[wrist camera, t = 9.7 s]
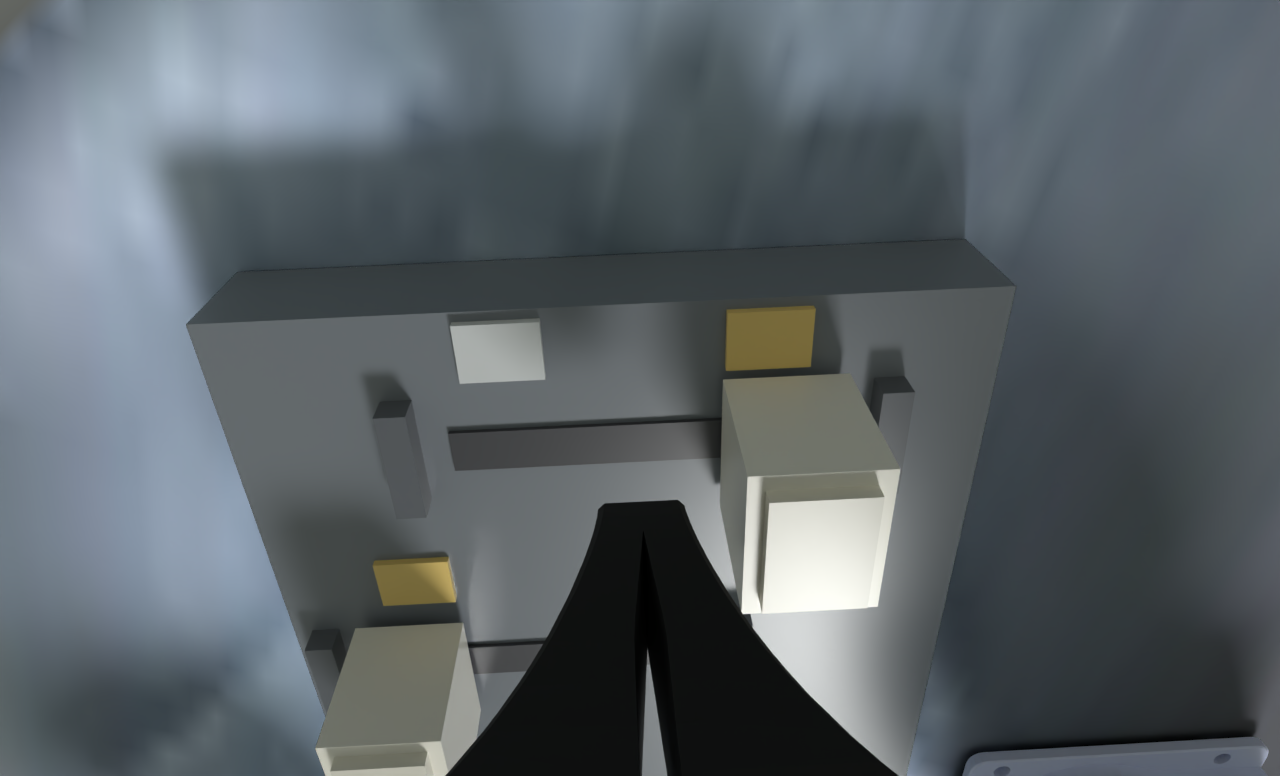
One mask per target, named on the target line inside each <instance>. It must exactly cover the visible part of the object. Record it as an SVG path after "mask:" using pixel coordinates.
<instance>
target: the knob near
mask: <svg viewBox="0 0 1280 776" xmlns="http://www.w3.org/2000/svg"><path fill="white" fill-rule="evenodd" d="M899 475H900V467H899V465H898V463H897V461H896V460H895V458H894V456H893V454H892V452H891V450H890V448H889V446H888V444H887V442H886V441H885V439H884V437H883V435H882V433H881V431H880V429H879V427H878V425H877V424H876V422H875V420H874V418H873V416H872V414H871V412H870V410H869V408H868V406H867V405H866V403H865V401H864V399H863V397H862V395H861V393H860V391H859V389H858V387H857V386H856V384H855V382H854V380H853V378H852V376H851V374H850V373H848V374H827V375H807V376H786V377H765V378H745V379H724V380H723V393H722V434H721V475H720V509H721V514H722V519H723V524H724V529H725V534H726V539H727V544H728V549H729V554H730V559H731V564H732V569H733V574H734V580H735V585H736V590H737V595H738V600H739V605H740V610H741V612H742V613H743V614H753V613H762V614H769V613H788V612H806V611H825V610H844V609H862V608H868V607H878V602H879V596H880V590H881V584H882V578H883V572H884V566H885V560H886V554H887V547H888V541H889V535H890V529H891V523H892V517H893V511H894V505H895V499H896V493H897V487H898V481H899Z"/></svg>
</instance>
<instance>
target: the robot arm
mask: <svg viewBox="0 0 1280 776" xmlns="http://www.w3.org/2000/svg"><path fill="white" fill-rule="evenodd" d="M647 648H648V655H649V662H650V668H651V674H652V681H653V687H654V694H655V700H656V707H657V713H658V719H659V726H660V732H661V738H662V745H663V751H664V758H665V764H666V770H667V776H899V775H897V774H896V773H895V772H894V771H892V770H891V769H890V768H889V767H887V766H886V765H885V764H884V763H882V762H881V761H880V760H879V759H878V758H876V757H875V756H874V755H873V754H872V753H871V752H870V751H868V750H867V749H866V748H865V747H864V746H863V745H862V744H860V743H859V742H858V741H857V740H856V739H855V738H853V737H852V736H851V735H850V734H849V733H848V732H847V731H846V730H845V729H844V728H843V727H842V726H841V725H840V724H839V723H838V722H837V721H836V720H835V719H834V718H833V717H832V716H831V715H830V714H829V713H828V712H826V711H825V710H824V709H823V708H822V707H821V706H820V705H819V704H818V703H817V702H816V701H815V700H814V699H813V698H812V697H811V696H810V695H809V694H808V693H807V692H806V691H805V690H804V688H803V687H802V686H801V685H800V684H799V683H798V682H797V681H796V680H795V679H794V677H793V676H792V675H791V674H790V673H789V672H788V671H787V670H786V669H785V667H784V666H783V665H782V664H781V663H780V661H779V660H778V659H777V658H776V657H775V655H774V654H773V653H772V652H771V651H770V649H769V648H768V647H767V646H766V644H765V643H764V642H763V641H762V639H761V638H760V637H759V635H758V634H757V633H756V631H755V630H754V629H753V627H752V626H751V625H750V623H749V622H748V620H747V619H746V617H745V616H744V615H743V613H742V612H741V610H740V609H739V608H738V606H737V605H736V603H735V602H734V600H733V599H732V597H731V596H730V594H729V593H728V591H727V589H726V588H725V586H724V584H723V583H722V581H721V579H720V578H719V576H718V575H717V573H716V571H715V570H714V568H713V566H712V564H711V563H710V561H709V559H708V557H707V556H706V554H705V552H704V550H703V548H702V546H701V544H700V542H699V540H698V538H697V536H696V534H695V532H694V530H693V527H692V525H691V523H690V520H689V517H688V515H687V512H686V509H685V505H684V504H682V503H681V502H680V501H679V500H664V501H643V502H621V503H604V504H603V505H602V506H601V507H600V508H599V509H598V513H597V519H596V524H595V528H594V531H593V535H592V538H591V541H590V544H589V547H588V550H587V552H586V555H585V558H584V561H583V563H582V566H581V568H580V570H579V573H578V575H577V577H576V580H575V582H574V584H573V587H572V589H571V591H570V593H569V596H568V598H567V600H566V602H565V604H564V606H563V608H562V609H561V611H560V613H559V615H558V617H557V619H556V621H555V623H554V625H553V627H552V629H551V631H550V633H549V635H548V636H547V638H546V640H545V642H544V643H543V645H542V647H541V648H540V650H539V652H538V653H537V655H536V657H535V658H534V660H533V662H532V663H531V665H530V666H529V668H528V669H527V671H526V673H525V674H524V676H523V677H522V679H521V680H520V682H519V683H518V685H517V686H516V687H515V689H514V690H513V692H512V693H511V695H510V696H509V697H508V699H507V700H506V702H505V703H504V704H503V706H502V707H501V709H500V710H499V711H498V713H497V714H496V715H495V717H494V718H493V719H492V721H491V722H490V723H489V725H488V726H487V727H486V728H485V730H484V731H483V732H482V733H481V734H480V736H479V737H478V738H477V739H476V740H475V742H474V743H473V744H472V745H471V746H470V747H469V749H468V750H467V751H466V752H465V753H464V754H463V756H462V757H461V758H460V759H459V760H458V762H457V763H456V764H455V765H454V766H453V767H452V769H451V770H450V771H449V772H448V773H447V774H446V775H445V776H642V762H643V740H644V717H645V695H646V672H647ZM1268 752H1269V750H1268V748H1267V747H1266V745H1265V744H1264V743H1263V742H1262V740H1261V739H1259V738H1257V737H1237V738H1219V739H1202V740H1185V741H1167V742H1150V743H1133V744H1115V745H1098V746H1080V747H1063V748H1046V749H1028V750H1011V751H994V752H981V753H977V754H975V755H973V756H971V757H970V758H969V759H968V761H967V762H966V765H965V769H964V772H963V776H1267V774H1266V773H1265V772H1264V770H1263V769H1262V768H1261V766H1262V765H1263V763H1264V761H1265V759H1266V758H1267V756H1268Z"/></svg>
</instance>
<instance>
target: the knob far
mask: <svg viewBox="0 0 1280 776" xmlns="http://www.w3.org/2000/svg"><path fill="white" fill-rule="evenodd" d="M480 713H481V708H480V703H479V698H478V693H477V688H476V683H475V678H474V674H473V669H472V664H471V659H470V654H469V649H468V644H467V639H466V634H465V629H464V624H463V623H447V624H428V625H409V626H391V627H372V628H355V631H354V634H353V637H352V640H351V643H350V646H349V649H348V652H347V655H346V658H345V661H344V664H343V667H342V670H341V673H340V676H339V679H338V682H337V685H336V688H335V691H334V694H333V697H332V700H331V703H330V706H329V709H328V712H327V715H326V718H325V721H324V723H323V726H322V729H321V732H320V735H319V738H318V741H317V744H316V747H315V749H316V752H317V755H318V757H319V760H320V763H321V765H322V768H323V771H324V773H325V776H445V775H446V774H447V773H448V772H449V771H450V770H451V769H452V767H453V766H454V765H455V764H456V763H457V762H458V760H459V759H460V758H461V757H462V756H463V754H464V753H465V752H466V751H467V750H468V749H469V747H470V746H471V745H472V744H473V743H474V742H475V740H476V739H477V733H478V726H479V719H480Z"/></svg>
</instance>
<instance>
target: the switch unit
mask: <svg viewBox="0 0 1280 776" xmlns="http://www.w3.org/2000/svg"><path fill="white" fill-rule="evenodd" d="M1015 290H1016V285H1015V284H1014V283H1012V282H1011V281H1010V280H1009V279H1008V278H1007V277H1006V276H1005V275H1004V274H1003V273H1002V272H1001V271H1000V270H999V269H997V268H996V267H995V266H994V265H993V264H992V263H991V262H990V261H989V260H988V259H987V258H986V257H985V256H983V255H982V254H981V253H980V252H979V251H978V250H977V249H976V248H975V247H974V246H973V245H972V244H971V243H969V242H968V241H967V240H966V239H957V240H935V241H913V242H891V243H868V244H846V245H824V246H802V247H780V248H758V249H735V250H713V251H691V252H669V253H647V254H625V255H603V256H580V257H558V258H536V259H514V260H492V261H470V262H447V263H425V264H403V265H381V266H359V267H337V268H315V269H292V270H270V271H248V272H237V273H236V274H235V275H234V276H233V277H232V278H231V279H230V280H229V281H228V282H227V283H226V284H225V285H224V286H223V287H222V288H221V289H220V290H219V291H218V292H217V293H216V294H215V295H214V296H213V297H212V298H211V299H210V300H209V301H208V302H207V303H206V305H205V306H204V307H203V308H202V309H201V310H200V311H199V312H198V313H197V314H196V315H195V316H194V317H193V318H192V319H191V320H190V321H189V322H188V323H187V324H186V326H187V329H188V332H189V335H190V338H191V340H192V343H193V346H194V349H195V352H196V355H197V357H198V360H199V363H200V366H201V369H202V371H203V374H204V377H205V380H206V383H207V385H208V388H209V391H210V394H211V397H212V400H213V402H214V405H215V408H216V411H217V414H218V416H219V419H220V422H221V425H222V428H223V430H224V433H225V436H226V439H227V442H228V444H229V447H230V450H231V453H232V456H233V459H234V461H235V464H236V467H237V470H238V473H239V475H240V478H241V481H242V484H243V487H244V489H245V492H246V495H247V498H248V501H249V504H250V506H251V509H252V512H253V515H254V518H255V520H256V523H257V526H258V529H259V532H260V534H261V537H262V540H263V543H264V546H265V548H266V551H267V554H268V557H269V560H270V563H271V565H272V568H273V571H274V574H275V577H276V579H277V582H278V585H279V588H280V591H281V593H282V596H283V599H284V602H285V605H286V607H287V610H288V613H289V616H290V619H291V622H292V624H293V627H294V630H295V633H296V636H297V638H298V641H299V644H300V647H301V650H302V652H303V655H304V658H305V661H306V664H307V667H308V669H309V672H310V675H311V678H312V681H313V683H314V686H315V689H316V692H317V695H318V697H319V700H320V703H321V706H322V709H323V711H324V714H325V717H326V715H327V712H328V709H329V706H330V703H331V700H332V697H333V694H334V691H335V688H336V685H337V682H338V679H339V676H340V673H341V670H342V667H343V664H344V661H345V658H346V655H347V652H348V649H349V646H350V643H351V640H352V637H353V634H354V631H355V628H372V627H391V626H409V625H428V624H447V623H463V624H464V629H465V634H466V639H467V644H468V649H469V654H470V659H471V664H472V669H473V674H474V678H475V683H476V688H477V693H478V698H479V703H480V708H481V713H480V719H479V726H478V733H477V738H478V737H479V736H480V734H481V733H482V732H483V731H484V730H485V728H486V727H487V726H488V725H489V723H490V722H491V721H492V719H493V718H494V717H495V715H496V714H497V713H498V711H499V710H500V709H501V707H502V706H503V704H504V703H505V702H506V700H507V699H508V697H509V696H510V695H511V693H512V692H513V690H514V689H515V687H516V686H517V685H518V683H519V682H520V680H521V679H522V677H523V676H524V674H525V673H526V671H527V669H528V668H529V666H530V665H531V663H532V662H533V660H534V658H535V657H536V655H537V653H538V652H539V650H540V648H541V647H542V645H543V643H544V642H545V640H546V638H547V636H548V635H549V633H550V631H551V629H552V627H553V625H554V623H555V621H556V619H557V617H558V615H559V613H560V611H561V609H562V608H563V606H564V604H565V602H566V600H567V598H568V596H569V593H570V591H571V589H572V587H573V584H574V582H575V580H576V577H577V575H578V573H579V570H580V568H581V566H582V563H583V561H584V558H585V555H586V552H587V550H588V547H589V544H590V541H591V538H592V535H593V531H594V528H595V524H596V519H597V513H598V509H599V508H600V507H601V506H602V505H603V504H604V503H621V502H643V501H664V500H679V501H680V502H681V503H682V504H684V505H685V509H686V512H687V515H688V517H689V520H690V523H691V525H692V527H693V530H694V532H695V534H696V536H697V538H698V540H699V542H700V544H701V546H702V548H703V550H704V552H705V554H706V556H707V557H708V559H709V561H710V563H711V564H712V566H713V568H714V570H715V571H716V573H717V575H718V576H719V578H720V579H721V581H722V583H723V584H724V586H725V588H726V589H727V591H728V593H729V594H730V596H731V597H732V599H733V600H734V602H735V603H736V605H737V606H738V608H739V609H740V605H739V600H738V595H737V590H736V585H735V580H734V574H733V569H732V564H731V559H730V554H729V549H728V544H727V539H726V534H725V529H724V524H723V519H722V514H721V509H720V475H721V434H722V393H723V380H724V379H745V378H765V377H786V376H807V375H827V374H848V373H850V374H851V376H852V378H853V380H854V382H855V384H856V386H857V387H858V389H859V391H860V393H861V395H862V397H863V399H864V401H865V403H866V405H867V406H868V408H869V410H870V412H871V414H872V416H873V418H874V420H875V422H876V424H877V425H878V427H879V429H880V431H881V433H882V435H883V437H884V439H885V441H886V442H887V444H888V446H889V448H890V450H891V452H892V454H893V456H894V458H895V460H896V461H897V463H898V465H899V467H900V475H899V481H898V487H897V493H896V499H895V505H894V511H893V517H892V523H891V529H890V535H889V541H888V547H887V554H886V560H885V566H884V572H883V578H882V584H881V590H880V596H879V602H878V607H868V608H862V609H844V610H825V611H806V612H788V613H769V614H762V613H753V614H743V615H744V616H745V617H746V619H747V620H748V622H749V623H750V625H751V626H752V627H753V629H754V630H755V631H756V633H757V634H758V635H759V637H760V638H761V639H762V641H763V642H764V643H765V644H766V646H767V647H768V648H769V649H770V651H771V652H772V653H773V654H774V655H775V657H776V658H777V659H778V660H779V661H780V663H781V664H782V665H783V666H784V667H785V669H786V670H787V671H788V672H789V673H790V674H791V675H792V676H793V677H794V679H795V680H796V681H797V682H798V683H799V684H800V685H801V686H802V687H803V688H804V690H805V691H806V692H807V693H808V694H809V695H810V696H811V697H812V698H813V699H814V700H815V701H816V702H817V703H818V704H819V705H820V706H821V707H822V708H823V709H824V710H825V711H826V712H828V713H829V714H830V715H831V716H832V717H833V718H834V719H835V720H836V721H837V722H838V723H839V724H840V725H841V726H842V727H843V728H844V729H845V730H846V731H847V732H848V733H849V734H850V735H851V736H852V737H853V738H855V739H856V740H857V741H858V742H859V743H860V744H862V745H863V746H864V747H865V748H866V749H867V750H868V751H870V752H871V753H872V754H873V755H874V756H875V757H876V758H878V759H879V760H880V761H881V762H882V763H884V764H885V765H886V766H887V767H889V768H890V769H891V770H892V771H894V772H895V773H896V774H897V775H899V776H906V775H907V771H908V766H909V762H910V757H911V753H912V748H913V744H914V739H915V735H916V731H917V726H918V722H919V717H920V713H921V708H922V704H923V699H924V695H925V690H926V686H927V682H928V677H929V673H930V668H931V664H932V659H933V655H934V650H935V646H936V642H937V637H938V633H939V628H940V624H941V619H942V615H943V610H944V606H945V602H946V597H947V593H948V588H949V584H950V579H951V575H952V570H953V566H954V562H955V557H956V553H957V548H958V544H959V539H960V535H961V530H962V526H963V522H964V517H965V513H966V508H967V504H968V499H969V495H970V490H971V486H972V481H973V477H974V473H975V468H976V464H977V459H978V455H979V450H980V446H981V441H982V437H983V433H984V428H985V424H986V419H987V415H988V410H989V406H990V401H991V397H992V393H993V388H994V384H995V379H996V375H997V370H998V366H999V361H1000V357H1001V353H1002V348H1003V344H1004V339H1005V335H1006V330H1007V326H1008V321H1009V317H1010V313H1011V308H1012V304H1013V299H1014V295H1015ZM642 776H667V770H666V764H665V758H664V751H663V745H662V738H661V732H660V726H659V719H658V713H657V707H656V700H655V694H654V687H653V681H652V674H651V668H650V662H649V655H648V648H647V672H646V695H645V717H644V740H643V762H642Z"/></svg>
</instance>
